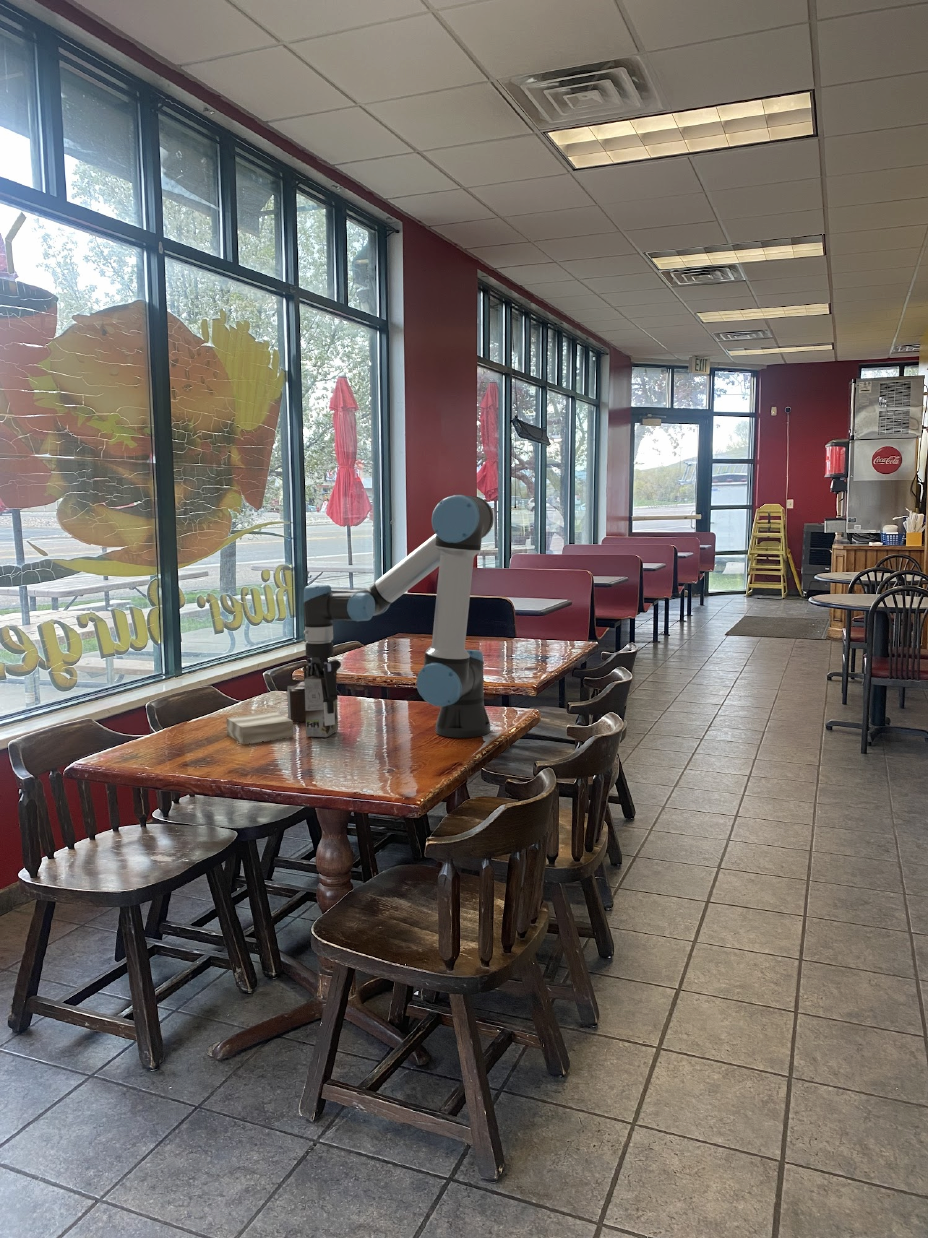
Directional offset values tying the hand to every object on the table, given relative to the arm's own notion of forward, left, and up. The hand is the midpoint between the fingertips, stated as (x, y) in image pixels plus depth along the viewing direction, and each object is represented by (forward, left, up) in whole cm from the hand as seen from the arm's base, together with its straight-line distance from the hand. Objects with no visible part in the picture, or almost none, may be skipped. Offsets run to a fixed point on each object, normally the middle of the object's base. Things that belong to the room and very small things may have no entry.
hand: (322, 721), depth 249 cm
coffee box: (0, 0, -4) cm, 4 cm away
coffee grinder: (+21, -6, -4) cm, 22 cm away
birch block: (+8, +15, -4) cm, 18 cm away
